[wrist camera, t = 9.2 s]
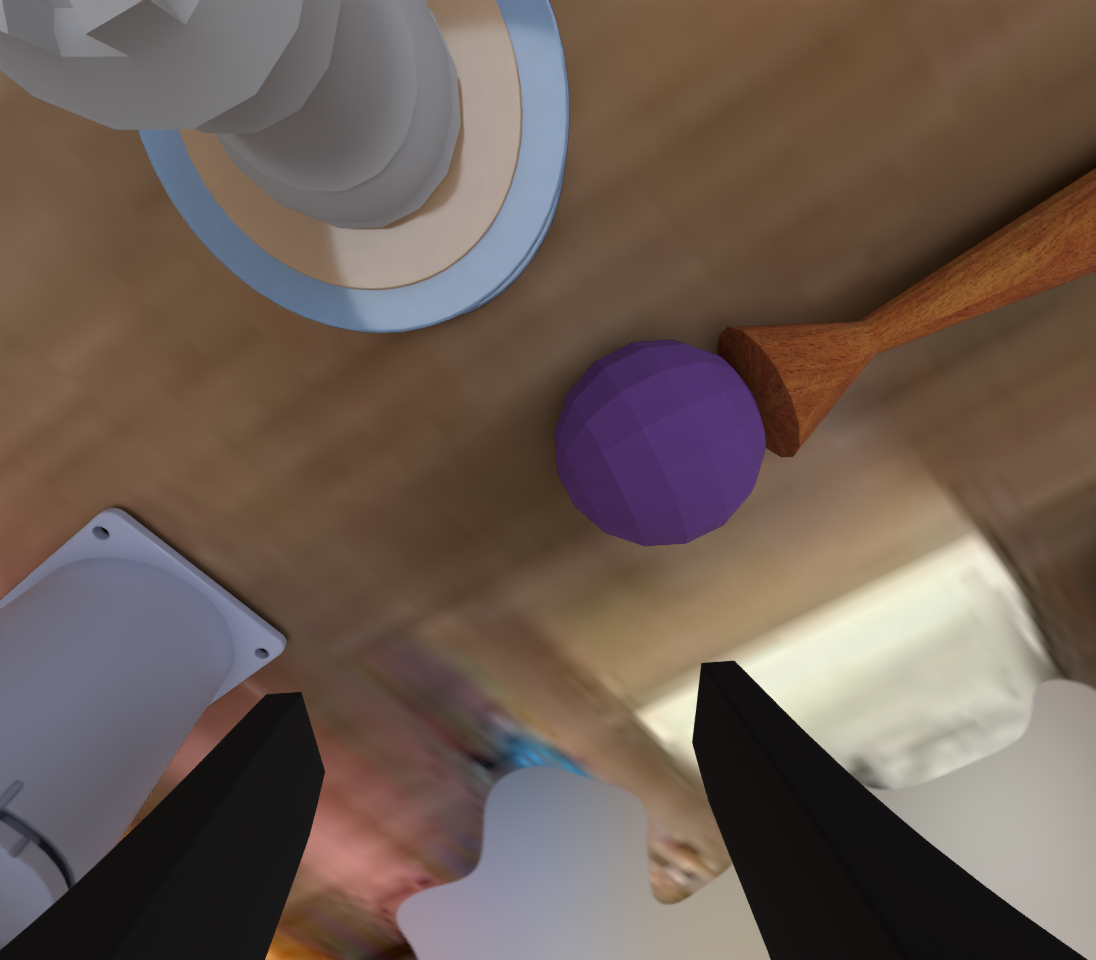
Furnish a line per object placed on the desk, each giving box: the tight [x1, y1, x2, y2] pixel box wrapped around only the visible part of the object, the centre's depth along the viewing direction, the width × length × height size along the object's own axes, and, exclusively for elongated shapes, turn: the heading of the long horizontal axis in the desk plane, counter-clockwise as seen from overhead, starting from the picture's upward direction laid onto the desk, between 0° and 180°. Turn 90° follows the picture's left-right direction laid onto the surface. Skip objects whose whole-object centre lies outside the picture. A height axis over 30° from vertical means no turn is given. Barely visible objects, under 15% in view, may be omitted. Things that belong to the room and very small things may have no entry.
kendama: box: [555, 168, 1096, 546], centre depth 15 cm, size 6×6×20 cm
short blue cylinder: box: [138, 0, 570, 333], centre depth 13 cm, size 9×9×5 cm
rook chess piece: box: [0, 0, 461, 228], centre depth 7 cm, size 4×4×8 cm
